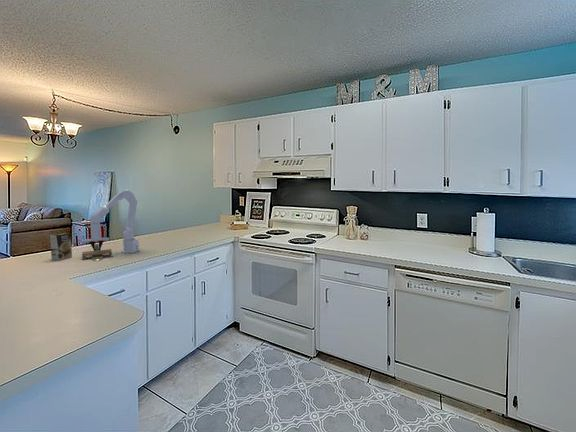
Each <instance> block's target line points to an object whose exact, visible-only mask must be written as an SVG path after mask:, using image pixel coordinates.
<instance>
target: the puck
mask: <svg viewBox="0 0 576 432" xmlns="http://www.w3.org/2000/svg"><path fill="white" fill-rule="evenodd" d="M100 261H101V262H102V261H103V259H102V258H96V259H93V260H92V262H100Z"/></svg>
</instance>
